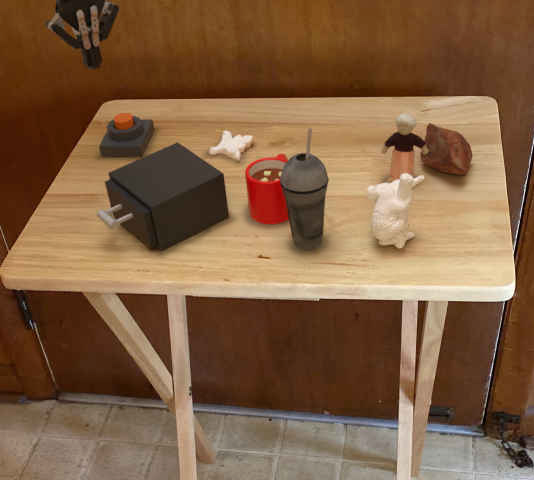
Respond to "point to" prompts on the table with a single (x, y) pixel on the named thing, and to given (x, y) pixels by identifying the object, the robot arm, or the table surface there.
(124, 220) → the drawer
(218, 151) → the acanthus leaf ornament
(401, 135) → the grandmother figurine
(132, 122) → the button
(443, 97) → the table surface
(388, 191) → the white rabbit figurine
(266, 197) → the mug
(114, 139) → the control block
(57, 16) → the robot arm
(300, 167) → the beverage cup
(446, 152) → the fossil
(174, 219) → the cabinet
